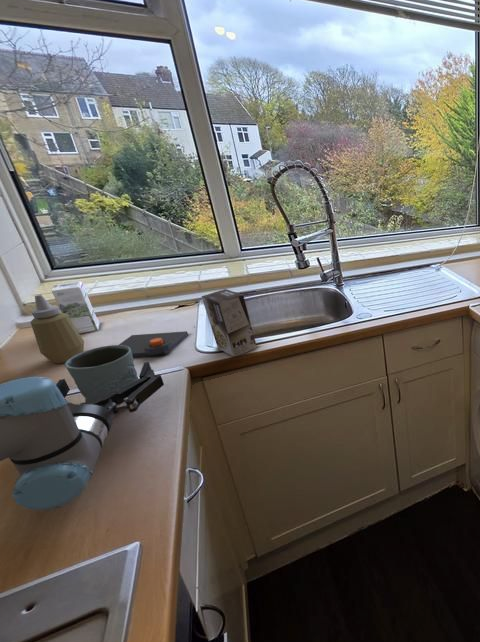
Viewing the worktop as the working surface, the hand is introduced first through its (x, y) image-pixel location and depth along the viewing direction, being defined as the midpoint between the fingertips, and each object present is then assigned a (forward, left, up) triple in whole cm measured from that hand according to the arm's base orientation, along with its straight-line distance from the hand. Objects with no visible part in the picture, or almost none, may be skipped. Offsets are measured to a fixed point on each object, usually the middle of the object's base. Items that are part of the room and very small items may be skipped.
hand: (108, 375), depth 88 cm
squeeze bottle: (-25, +24, -7) cm, 35 cm away
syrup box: (-32, +42, -7) cm, 53 cm away
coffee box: (+16, +22, -7) cm, 28 cm away
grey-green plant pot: (0, 0, -7) cm, 7 cm away
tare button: (-3, +22, -4) cm, 23 cm away
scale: (-8, +27, -7) cm, 29 cm away
